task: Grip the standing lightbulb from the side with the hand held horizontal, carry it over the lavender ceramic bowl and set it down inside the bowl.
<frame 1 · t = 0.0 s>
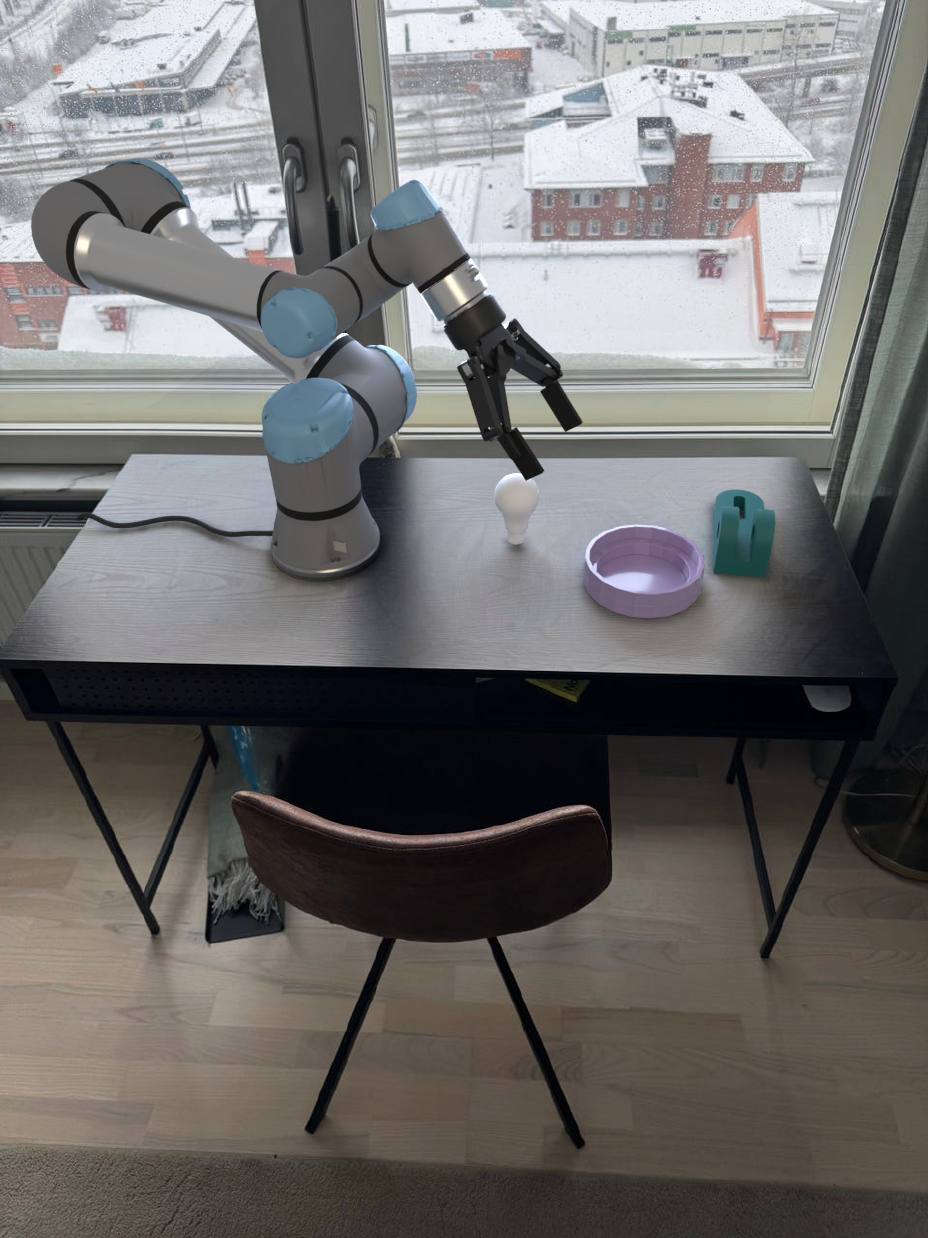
hand: (555, 450, 121), 15 cm above the table, tool tilted 35°, fingers open, 13 cm apart
bowl: (641, 584, 124), on the table
lightbulb: (516, 544, 132), on the table
bracket: (737, 538, 132), on the table
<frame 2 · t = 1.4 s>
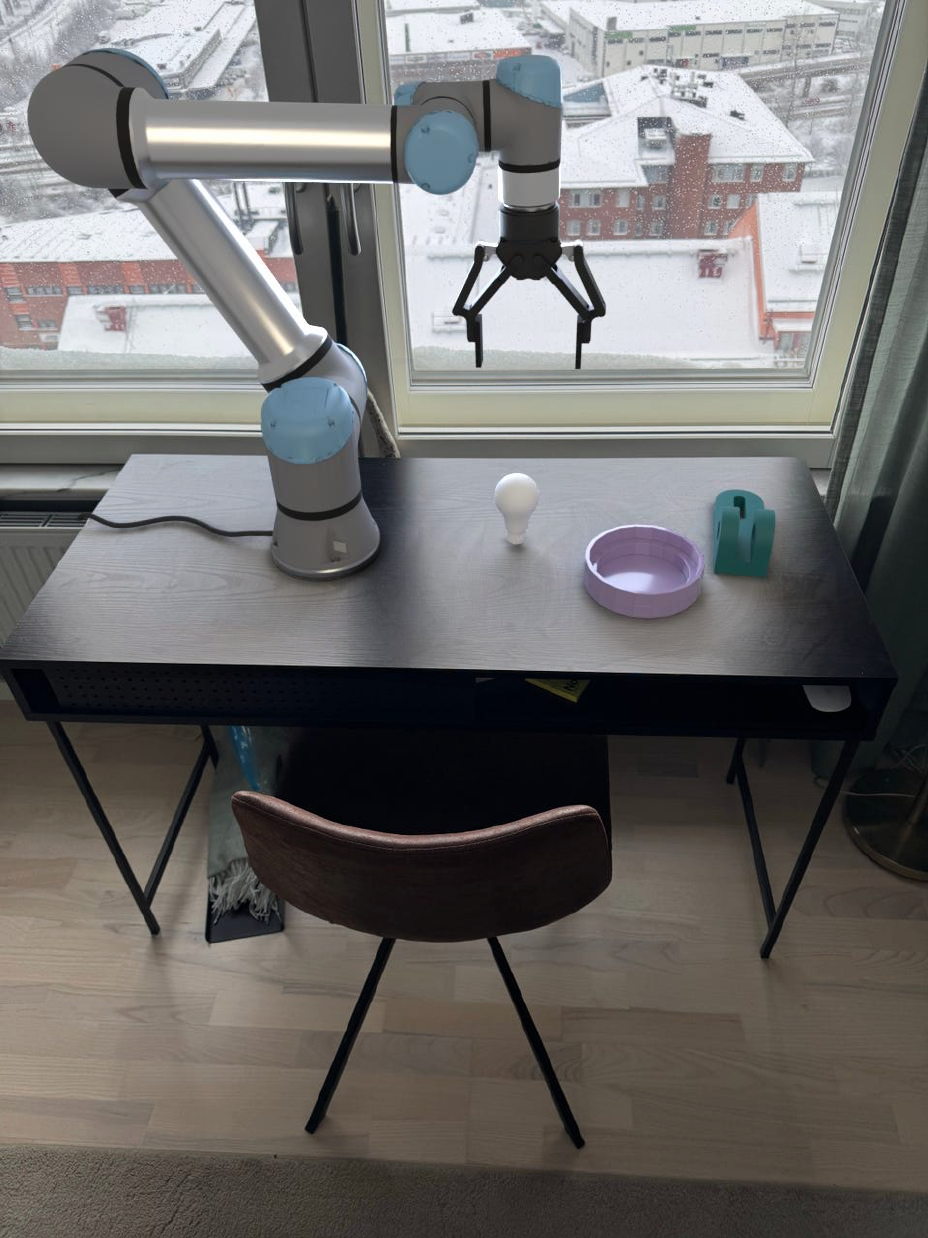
hand: (528, 364, 129), 21 cm above the table, tool pointing down, fingers open, 13 cm apart
nothing on the table moved.
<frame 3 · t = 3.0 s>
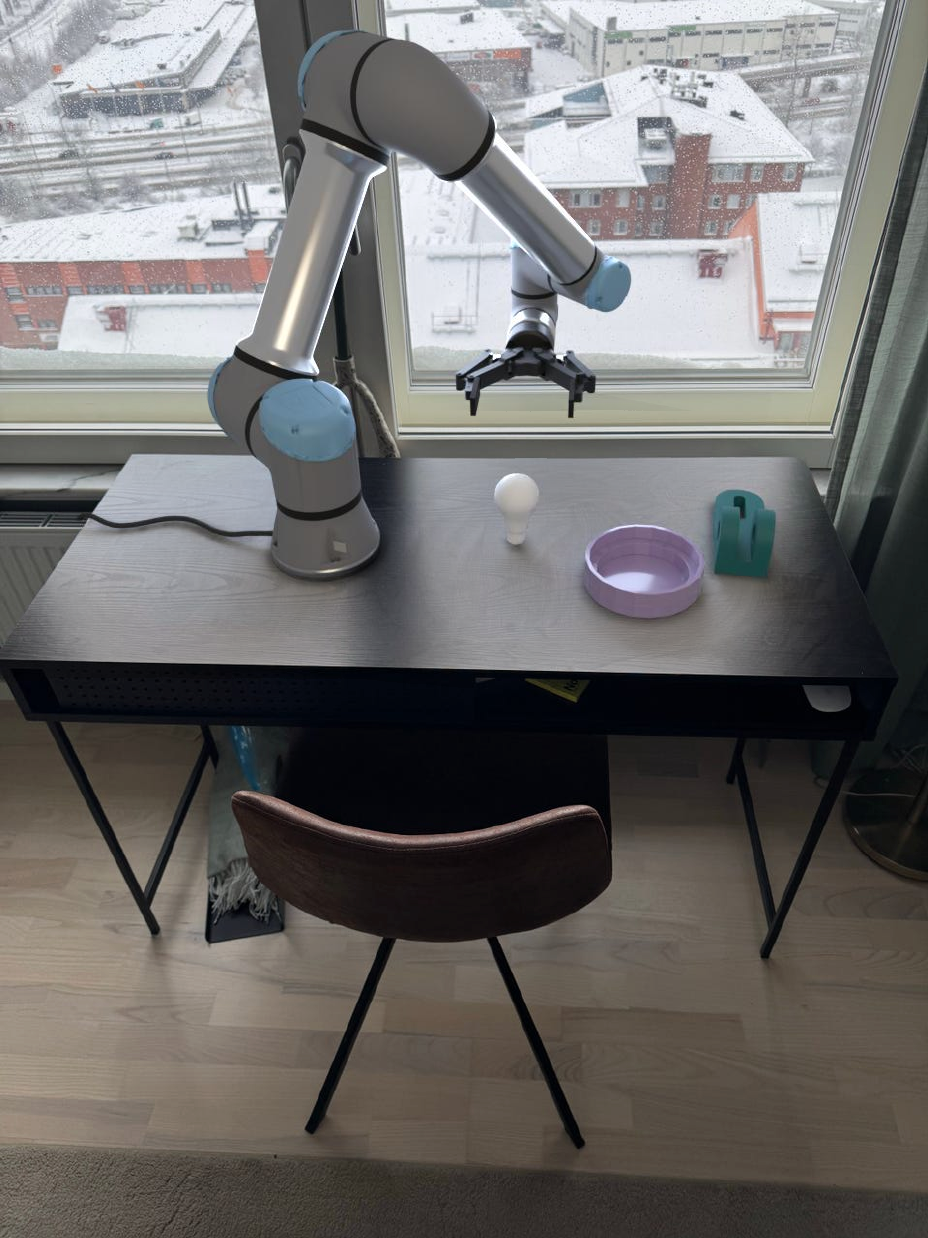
hand: (521, 408, 129), 16 cm above the table, tool horizontal, fingers open, 13 cm apart
nothing on the table moved.
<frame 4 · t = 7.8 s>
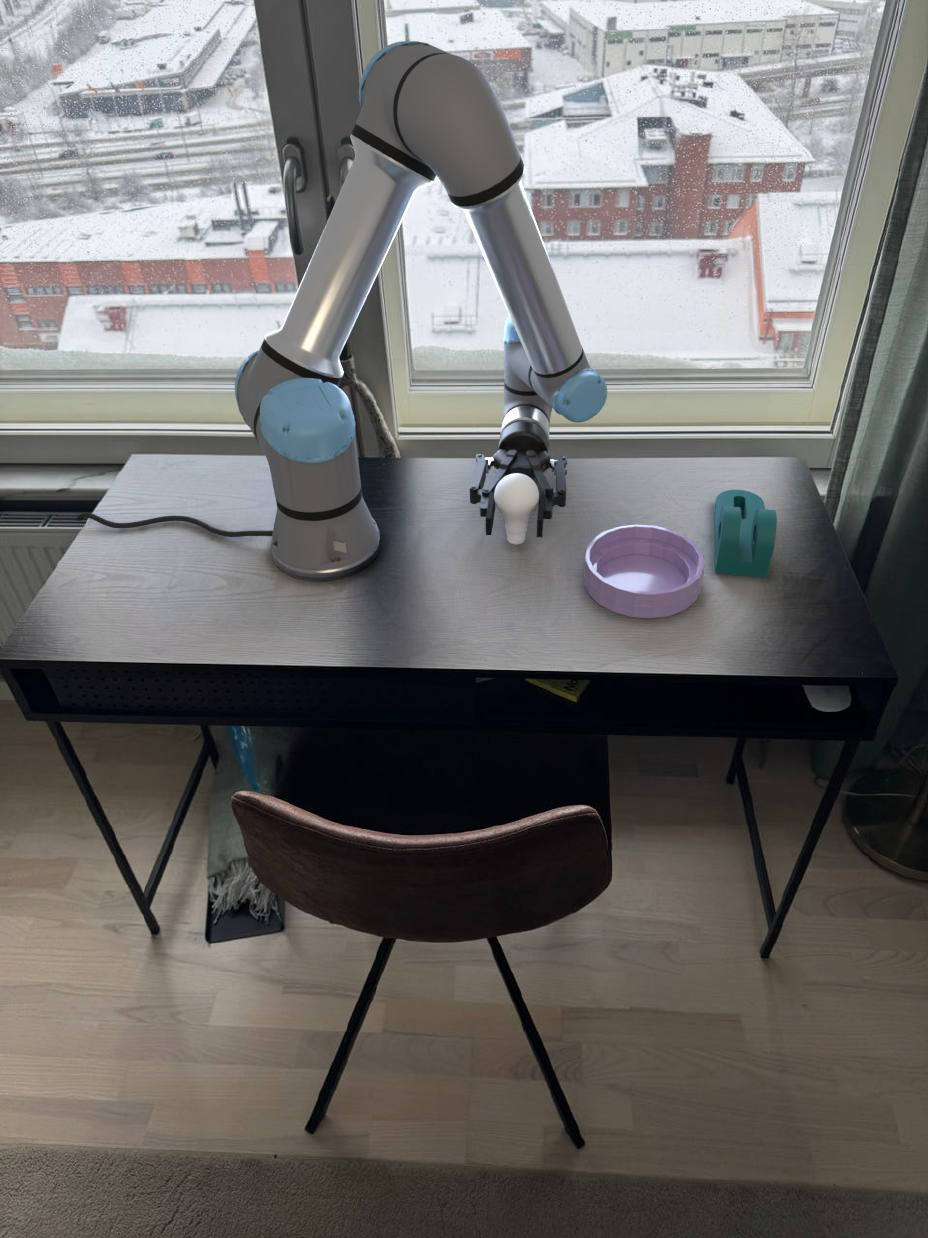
hand: (514, 527, 124), 6 cm above the table, tool horizontal, fingers closed on lightbulb, 6 cm apart
lightbulb: (516, 544, 132), on the table, touching gripper
everything else where it was.
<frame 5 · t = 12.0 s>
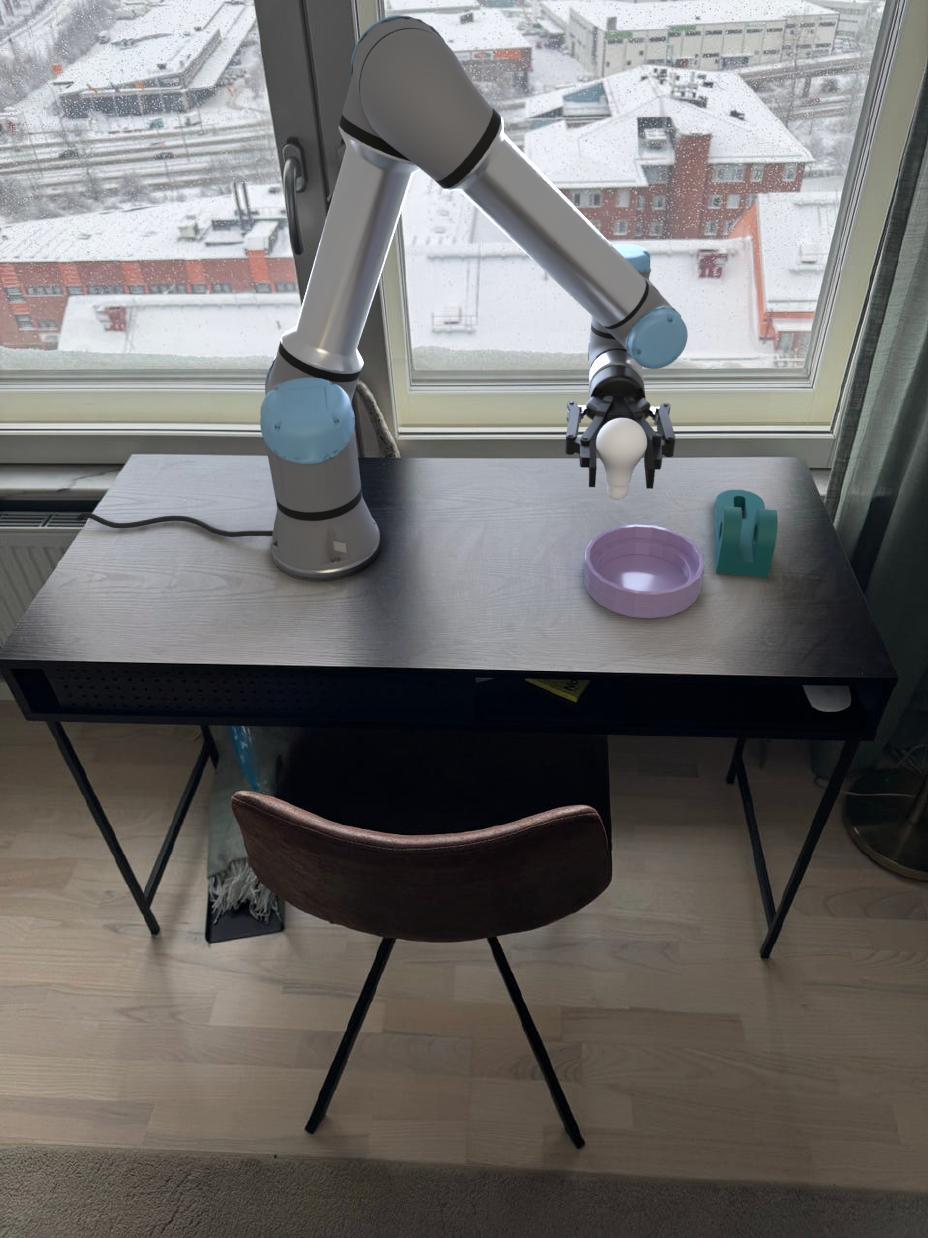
hand: (621, 477, 110), 18 cm above the table, tool horizontal, fingers closed on lightbulb, 6 cm apart
lightbulb: (616, 500, 118), point 12 cm above the table, touching gripper
everything else where it was.
when the fingers open (7 cm above the table, at t = 16.1 s): lightbulb stays where it is, resting on bowl.
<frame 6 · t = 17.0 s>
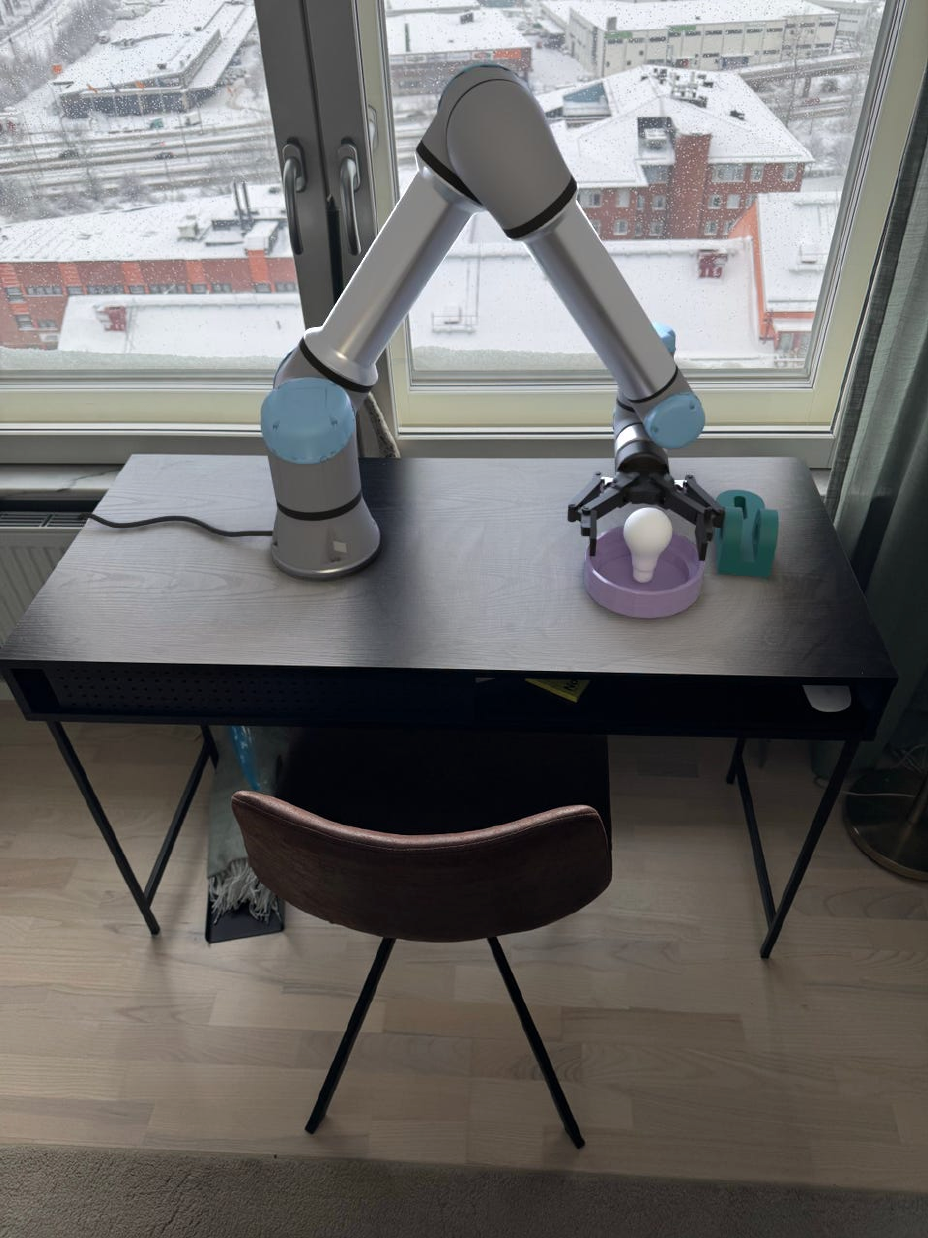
hand: (647, 550, 116), 8 cm above the table, tool horizontal, fingers open, 13 cm apart
lightbulb: (641, 582, 124), resting on bowl
everything else where it was.
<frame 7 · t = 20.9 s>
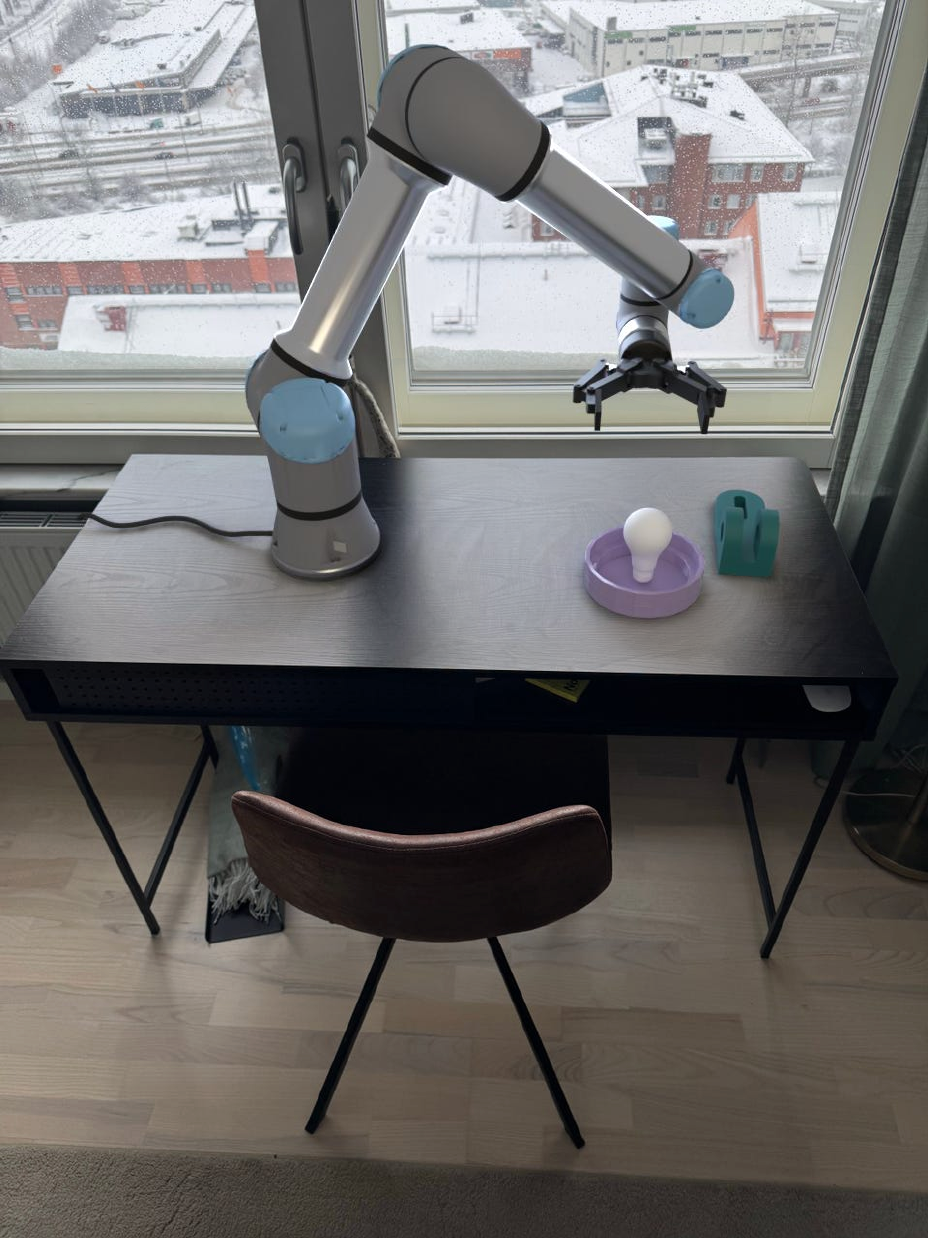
hand: (651, 423, 119), 19 cm above the table, tool horizontal, fingers open, 13 cm apart
nothing on the table moved.
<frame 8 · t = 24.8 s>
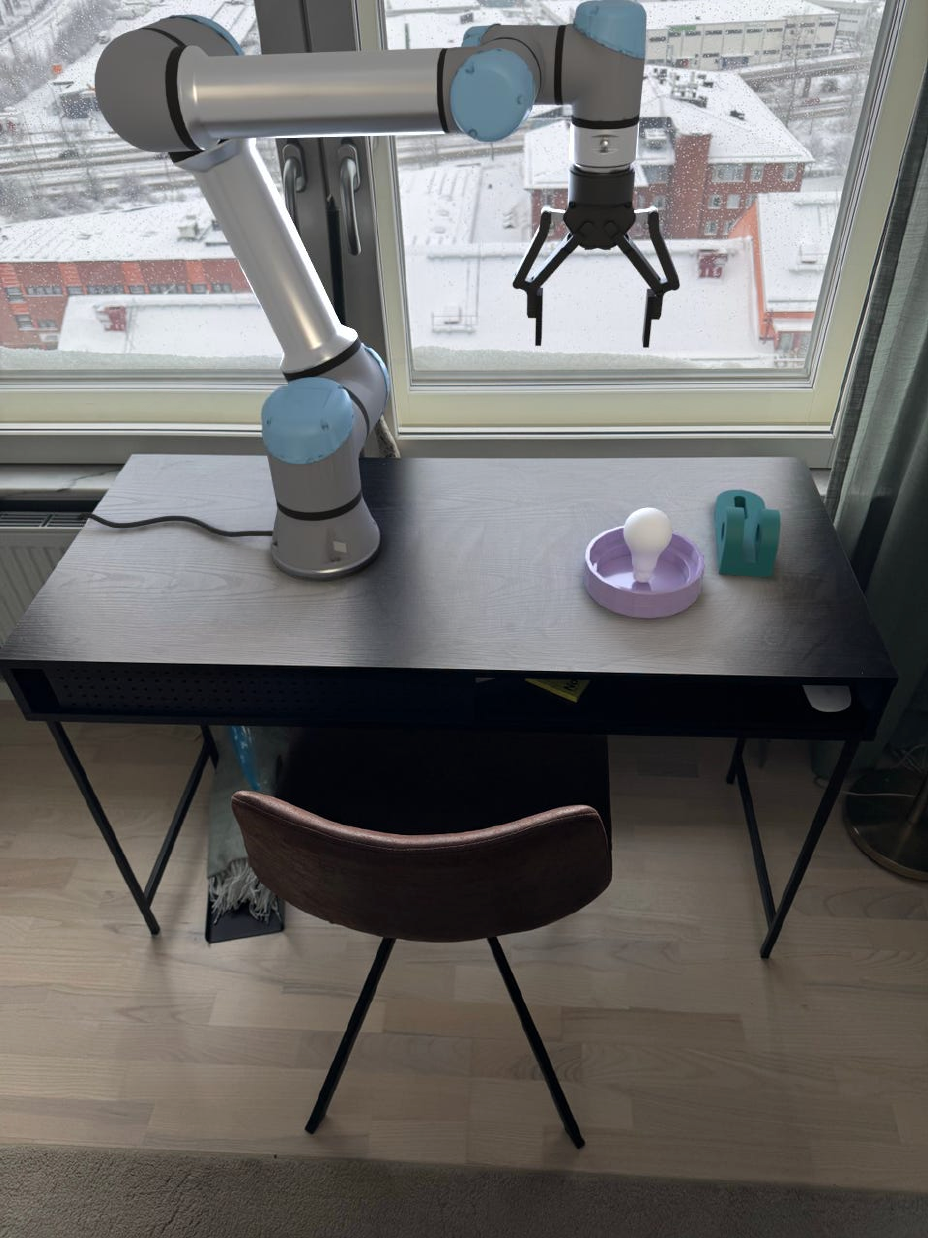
hand: (591, 342, 119), 27 cm above the table, tool pointing down, fingers open, 13 cm apart
nothing on the table moved.
at the end: lightbulb inside the target area in the bowl (0.0 cm from its centre), point 0.4 cm above the bowl's base; the gripper is holding nothing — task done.
